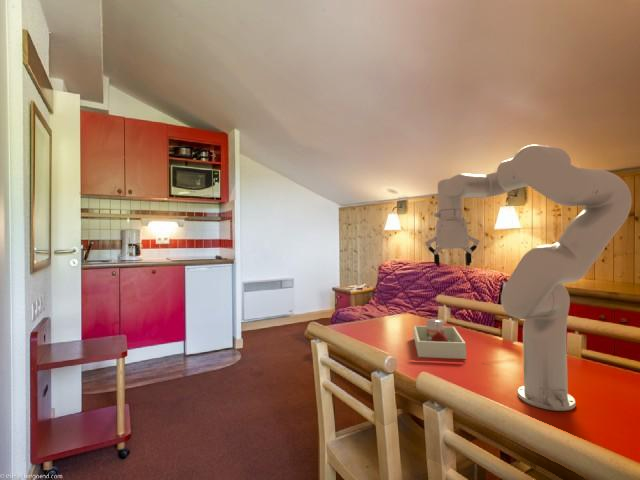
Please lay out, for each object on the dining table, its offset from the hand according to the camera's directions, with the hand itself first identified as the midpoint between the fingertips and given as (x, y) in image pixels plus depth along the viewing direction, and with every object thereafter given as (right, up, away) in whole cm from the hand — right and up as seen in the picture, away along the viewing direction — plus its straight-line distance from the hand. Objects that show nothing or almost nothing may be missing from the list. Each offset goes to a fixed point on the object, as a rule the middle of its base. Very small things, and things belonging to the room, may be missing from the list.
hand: (452, 265), depth 117 cm
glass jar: (+1, -32, +20) cm, 38 cm away
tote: (0, -33, +14) cm, 36 cm away
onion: (-1, -33, +9) cm, 34 cm away
